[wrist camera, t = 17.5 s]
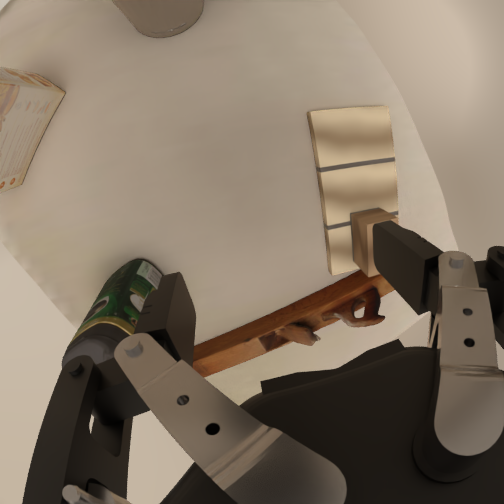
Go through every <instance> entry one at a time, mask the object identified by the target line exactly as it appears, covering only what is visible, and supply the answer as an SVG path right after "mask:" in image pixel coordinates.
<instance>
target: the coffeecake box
mask: <svg viewBox="0 0 504 504" xmlns="http://www.w3.org/2000/svg"><path fill="white" fill-rule="evenodd" d="M64 95H65V92H64V91H63V90H61V89H60V88H58V87H57V86H55V85H54V84H52V83H51V82H49V81H48V80H46V79H44V78H43V77H41V76H40V75H38V74H34V73H29V72H24V71H19V70H15V69H9V68H3V67H0V193H2V192H4V191H6V190H9V189H12V188H14V187H17V186H19V185H21V184H22V182H23V179H24V177H25V174H26V172H27V169H28V167H29V164H30V162H31V160H32V157H33V155H34V153H35V151H36V148H37V146H38V144H39V142H40V140H41V138H42V136H43V133H44V131H45V129H46V127H47V125H48V123H49V122H50V120H51V118H52V116H53V114H54V112H55V110H56V109H57V107H58V105H59V103H60V102H61V100H62V98H63V96H64Z"/></svg>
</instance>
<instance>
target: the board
mask: <svg viewBox="0 0 504 504" xmlns="http://www.w3.org/2000/svg"><path fill="white" fill-rule="evenodd" d="M307 116H308V122H309V127H310V132H311V138H312V144H313V150H314V156H315V162H316V169H317V175H318V182H319V189H320V196H321V204H322V212H323V220H324V229H325V238H326V247H327V257H328V268H329V272H330V273H331V275H332V276H333V275H337V274H341V273H345V272H349V271H352V270H356V269H360V268H359V267H358V266H357V265H356V264H355V263H354V262H353V253H352V236H351V223H350V213H353V212H358V211H363V210H368V209H373V208H377V207H379V208H381V209H383V210H385V211H387V212H389V213H390V214H392V215H394V216H396V217H398V194H397V178H396V165H395V155H394V145H393V137H392V129H391V122H390V115H389V109H388V106H371V107H354V108H341V109H329V110H320V111H311V112H307Z"/></svg>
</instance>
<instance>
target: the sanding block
mask: <svg viewBox="0 0 504 504" xmlns="http://www.w3.org/2000/svg"><path fill="white" fill-rule="evenodd" d="M387 220H392V221H393V222H395V223H396V224H398V217H396V216H394V215H392V214H390V213H389V212H387V211H385V210H383V209H381V208H379V207H377V208H373V209H368V210H363V211H358V212H353V213H350V223H351V236H352V253H353V262H354V263H355V264H356V265H357V266H358V267H359V268H360V269H361V270H362V271H363V272H364V273H365V274H366V275H367V276H368V277H371V276H375V275H378V274H380V273H379V272H378V271H377V269H376V267H375V264H374V259H373V233H372V228H373V225H374V224H375V223H379V222H383V221H387Z"/></svg>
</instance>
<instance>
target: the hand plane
mask: <svg viewBox="0 0 504 504" xmlns="http://www.w3.org/2000/svg"><path fill="white" fill-rule="evenodd" d="M394 290H395V289H394V288H393V287H392V286H391V285H390V284H389V283H388V281H387V280H386V279H385V278H384V277H383V276H382V275H381V274H378V275H375V276H371V277H368V276H367V275H366V274H365V273H364V272H363V271H362V270H359V271H357V272H355V273H353V274H351V275H349V276H348V277H346V278H343V279H341V280H339V281H337V282H336V283H334V284H332V285H329V286H327V287H325V288H323V289H321V290H320V291H318V292H315V293H313V294H311V295H309V296H307V297H305V298H303V299H300V300H298V301H296V302H294V303H293V304H290V305H288V306H286V307H284V308H281V309H279V310H277V311H275V312H273V313H271V314H268V315H266V316H264V317H262V318H259V319H257V320H255V321H253V322H251V323H248V324H246V325H244V326H241V327H239V328H237V329H234V330H232V331H230V332H227V333H225V334H222V335H220V336H218V337H215V338H213V339H210V340H208V341H205V342H203V343H201V344H198V345H196V346H194V354H193V369H194V370H195V371H196V372H198V373H199V374H200V375H201V376H202V377H203V378H204V377H207V376H209V375H211V374H214V373H217V372H219V371H222V370H225V369H227V368H230V367H233V366H235V365H238V364H240V363H243V362H245V361H248V360H250V359H253V358H255V357H257V356H260V355H263V354H265V353H267V352H269V351H272V350H274V349H277V348H279V347H282V346H284V345H286V344H289V343H291V342H293V341H294V342H297V343H301V344H304V345H308V346H312V345H313V344H314V343H315V341H319V340H320V339H321V338H320V337H318V336H317V335H316V334H314V333H313V332H315V331H317V330H319V329H320V328H322V327H325V326H327V325H330V324H332V323H334V322H336V321H338V320H340V319H342V321H344V322H345V323H346V324H347V325H348V326H351V327H366V326H370V325H375V324H378V323H380V322H382V321H383V320H384V319H385V316H381V315H378V311H379V307H380V303H381V300H380V298H381V297H383V296H384V295H386V294H388V293H389V292H392V291H394ZM363 307H365V310H364V316H363V317H362V318H355V316H354V312H355V311H357V310H359V309H361V308H363Z"/></svg>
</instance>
